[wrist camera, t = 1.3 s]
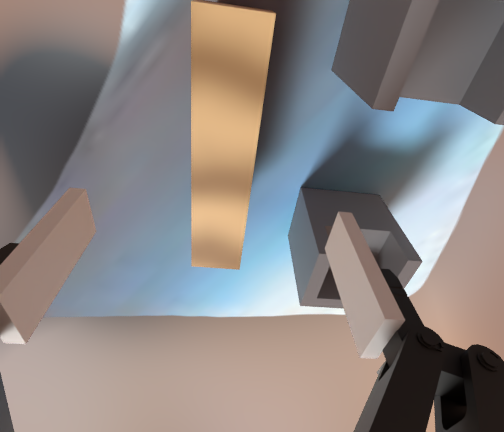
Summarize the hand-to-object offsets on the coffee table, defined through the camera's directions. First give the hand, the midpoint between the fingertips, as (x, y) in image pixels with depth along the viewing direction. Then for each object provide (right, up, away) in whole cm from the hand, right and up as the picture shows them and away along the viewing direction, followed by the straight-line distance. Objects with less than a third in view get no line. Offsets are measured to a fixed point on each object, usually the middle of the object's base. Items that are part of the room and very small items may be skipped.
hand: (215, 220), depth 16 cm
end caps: (+12, +7, +11) cm, 18 cm away
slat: (0, +5, +5) cm, 7 cm away
